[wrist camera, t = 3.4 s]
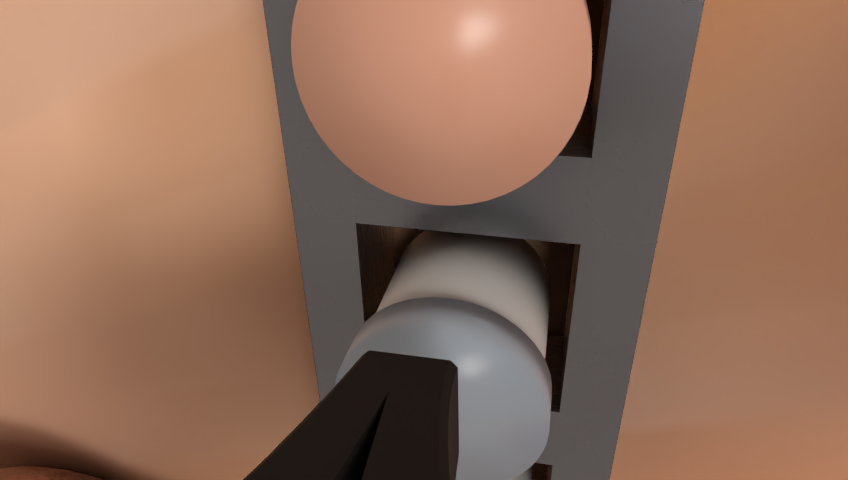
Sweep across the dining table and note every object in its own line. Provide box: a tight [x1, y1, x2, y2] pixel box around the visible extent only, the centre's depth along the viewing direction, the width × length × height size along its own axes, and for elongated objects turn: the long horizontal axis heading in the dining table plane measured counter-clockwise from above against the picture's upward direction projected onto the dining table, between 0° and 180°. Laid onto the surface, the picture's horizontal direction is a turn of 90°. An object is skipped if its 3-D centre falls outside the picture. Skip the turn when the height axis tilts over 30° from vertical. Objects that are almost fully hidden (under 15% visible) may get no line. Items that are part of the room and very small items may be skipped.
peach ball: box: [291, 0, 592, 206], centre depth 11 cm, size 4×4×4 cm
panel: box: [263, 0, 705, 480], centre depth 17 cm, size 8×24×3 cm, turn 1°
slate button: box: [335, 230, 552, 480], centre depth 15 cm, size 4×4×4 cm
